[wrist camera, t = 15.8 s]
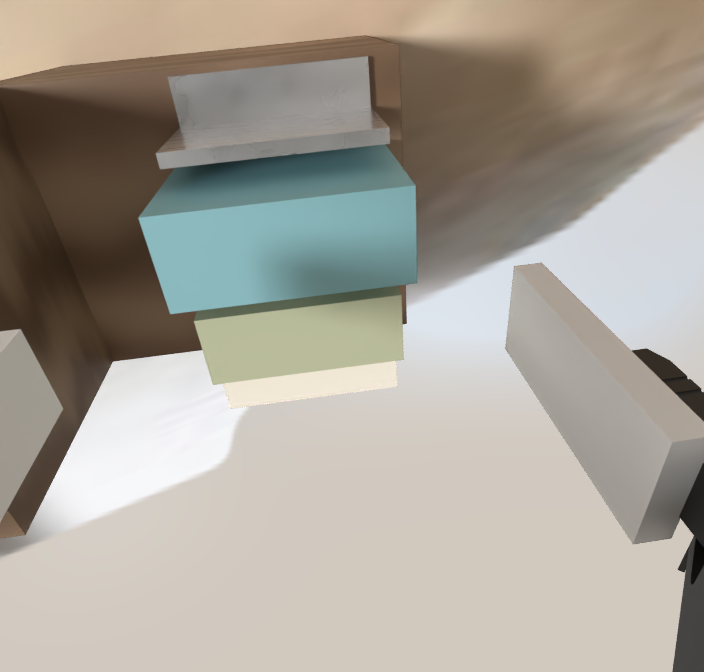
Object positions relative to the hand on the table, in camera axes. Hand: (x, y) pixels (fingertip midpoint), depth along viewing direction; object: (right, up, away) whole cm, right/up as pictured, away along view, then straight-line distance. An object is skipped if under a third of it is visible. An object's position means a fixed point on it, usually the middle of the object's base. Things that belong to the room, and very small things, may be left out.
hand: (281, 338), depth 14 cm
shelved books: (-1, +3, +15) cm, 15 cm away
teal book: (-1, +8, +12) cm, 14 cm away
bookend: (-2, +11, +10) cm, 15 cm away
